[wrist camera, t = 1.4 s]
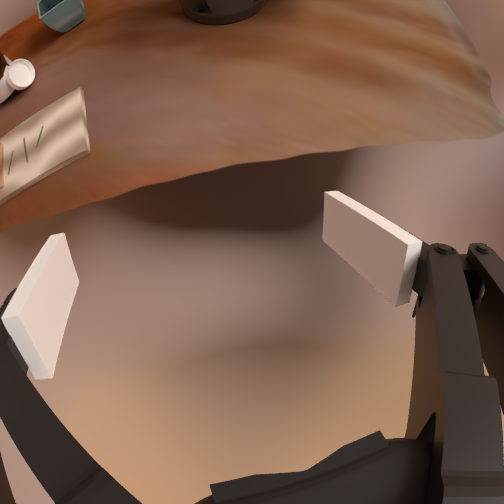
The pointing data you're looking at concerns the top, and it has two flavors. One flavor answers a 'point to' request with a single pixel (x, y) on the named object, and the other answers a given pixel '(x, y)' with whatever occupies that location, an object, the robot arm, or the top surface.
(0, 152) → the block
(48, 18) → the flower pot
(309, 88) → the top surface
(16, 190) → the plywood board
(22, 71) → the spread jar
